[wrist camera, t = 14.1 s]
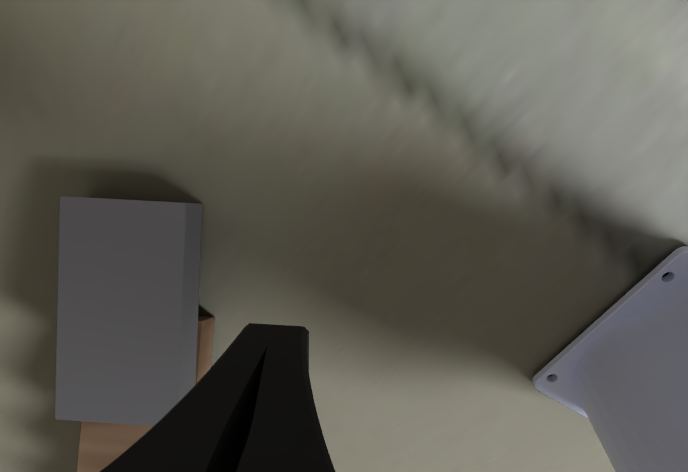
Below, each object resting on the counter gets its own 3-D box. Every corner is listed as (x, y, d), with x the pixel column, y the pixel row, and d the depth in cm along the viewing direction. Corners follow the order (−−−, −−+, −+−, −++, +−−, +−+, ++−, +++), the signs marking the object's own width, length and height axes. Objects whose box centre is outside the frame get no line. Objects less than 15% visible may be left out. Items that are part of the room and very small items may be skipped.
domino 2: (91, 314, 22) (71, 522, 21) (201, 321, 21) (185, 530, 21) (113, 310, 24) (96, 500, 23) (214, 316, 23) (200, 507, 23)
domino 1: (59, 196, 19) (55, 419, 19) (185, 202, 19) (177, 427, 19) (88, 197, 21) (83, 399, 21) (202, 203, 21) (194, 407, 21)
